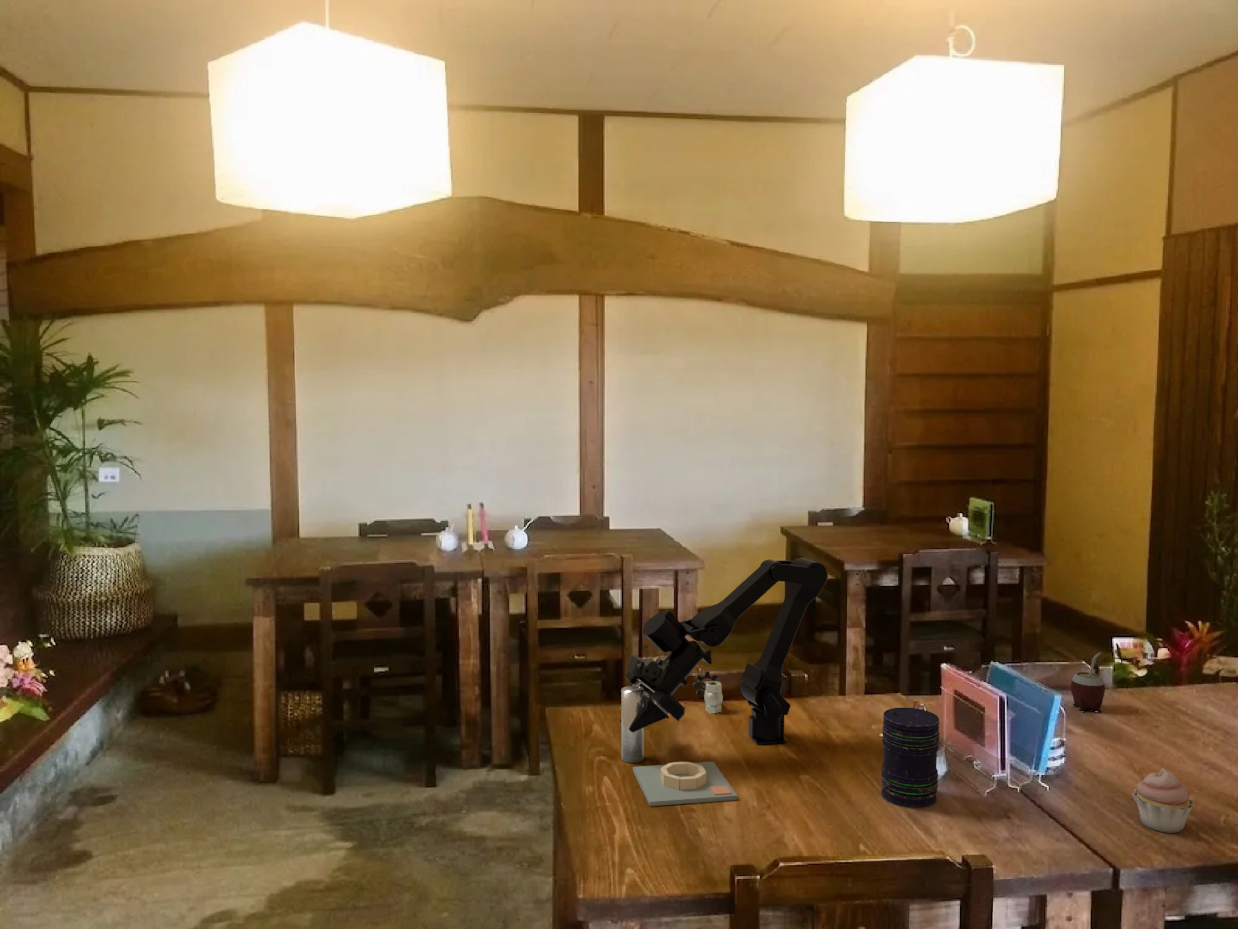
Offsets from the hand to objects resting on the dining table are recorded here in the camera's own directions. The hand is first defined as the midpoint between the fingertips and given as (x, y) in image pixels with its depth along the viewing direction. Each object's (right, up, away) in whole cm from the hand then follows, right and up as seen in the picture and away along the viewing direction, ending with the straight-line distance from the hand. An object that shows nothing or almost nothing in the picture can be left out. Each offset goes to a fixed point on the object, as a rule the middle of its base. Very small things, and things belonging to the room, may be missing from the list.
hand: (625, 727), depth 197 cm
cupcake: (+91, -10, -28) cm, 95 cm away
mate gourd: (+106, -4, +31) cm, 110 cm away
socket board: (+11, -8, -11) cm, 17 cm away
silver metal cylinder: (+1, -7, +1) cm, 7 cm away
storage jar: (+51, -9, -16) cm, 54 cm away
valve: (+20, -4, +33) cm, 39 cm away
